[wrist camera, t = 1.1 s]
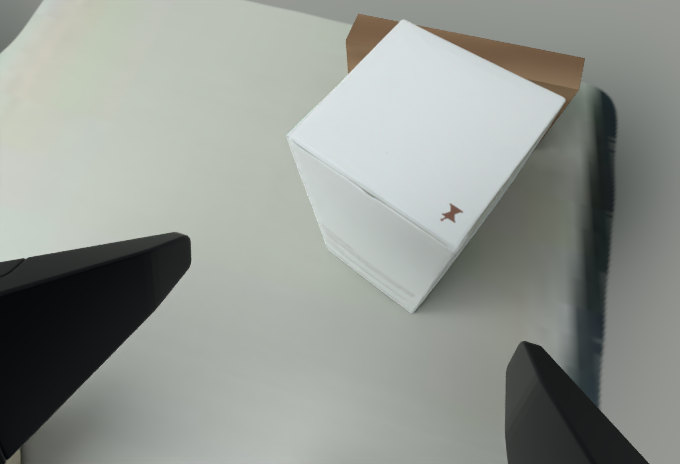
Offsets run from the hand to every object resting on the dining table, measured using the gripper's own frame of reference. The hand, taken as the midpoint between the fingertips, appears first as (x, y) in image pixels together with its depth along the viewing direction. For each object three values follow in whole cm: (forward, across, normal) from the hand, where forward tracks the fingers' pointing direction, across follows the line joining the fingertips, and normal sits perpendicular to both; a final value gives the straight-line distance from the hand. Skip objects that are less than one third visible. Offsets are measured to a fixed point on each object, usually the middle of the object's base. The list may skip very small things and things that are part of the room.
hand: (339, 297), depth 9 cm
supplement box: (+15, -1, +5) cm, 16 cm away
